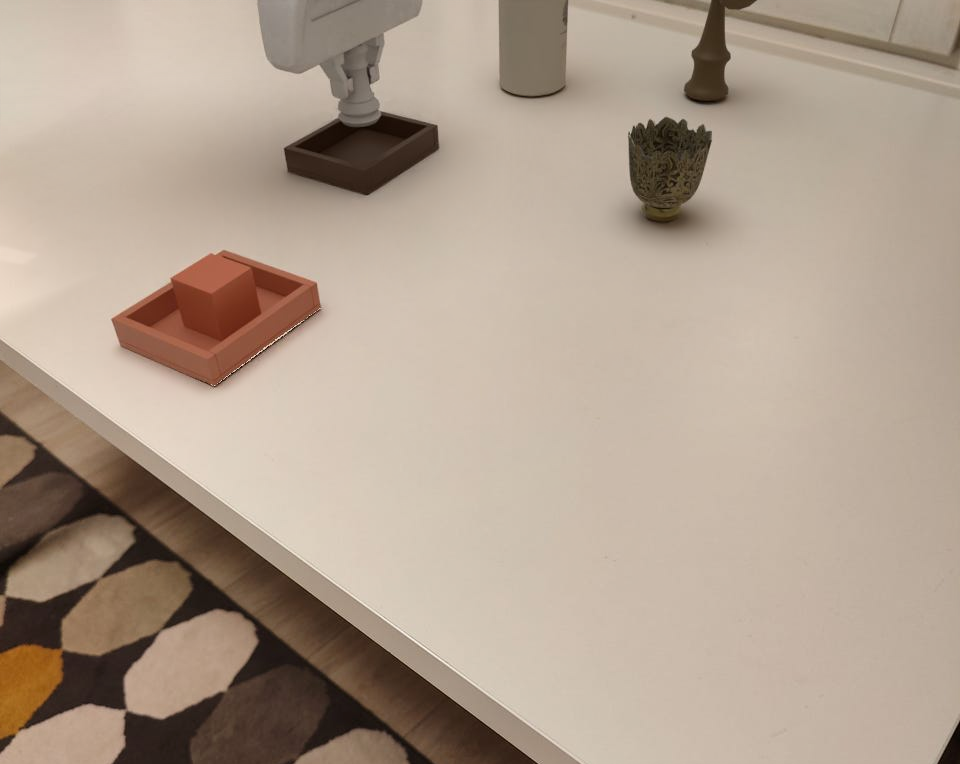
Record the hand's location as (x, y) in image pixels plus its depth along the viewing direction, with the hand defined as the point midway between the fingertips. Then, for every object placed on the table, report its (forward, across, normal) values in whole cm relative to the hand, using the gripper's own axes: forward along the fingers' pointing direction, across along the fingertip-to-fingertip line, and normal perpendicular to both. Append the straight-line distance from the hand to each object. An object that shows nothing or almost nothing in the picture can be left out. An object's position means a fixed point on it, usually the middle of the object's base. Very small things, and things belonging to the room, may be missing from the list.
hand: (356, 89), depth 95 cm
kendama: (+8, -34, +24) cm, 42 cm away
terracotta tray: (+7, +31, +10) cm, 33 cm away
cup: (+8, -5, +32) cm, 33 cm away
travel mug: (+8, -27, +5) cm, 28 cm away
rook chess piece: (+3, 0, 0) cm, 3 cm away
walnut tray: (+7, 0, 0) cm, 7 cm away
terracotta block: (+7, +31, +10) cm, 33 cm away
